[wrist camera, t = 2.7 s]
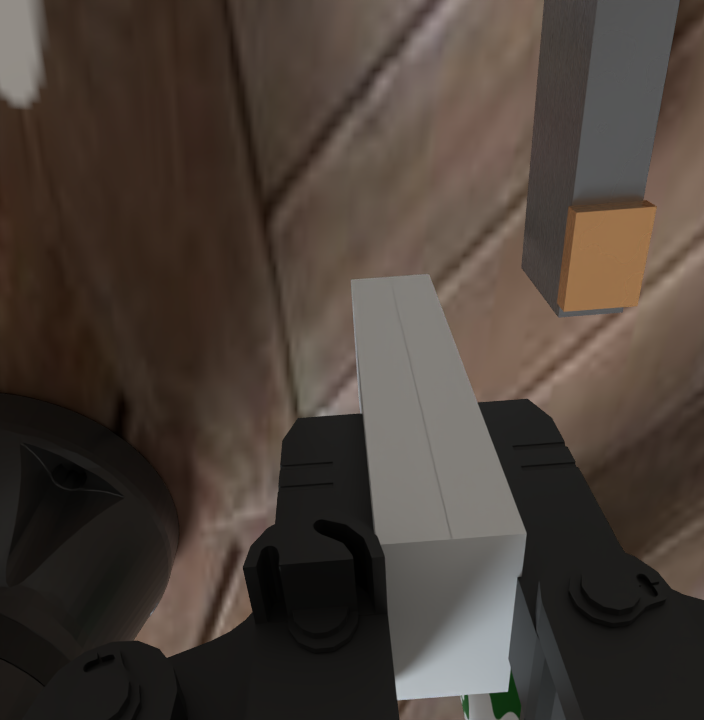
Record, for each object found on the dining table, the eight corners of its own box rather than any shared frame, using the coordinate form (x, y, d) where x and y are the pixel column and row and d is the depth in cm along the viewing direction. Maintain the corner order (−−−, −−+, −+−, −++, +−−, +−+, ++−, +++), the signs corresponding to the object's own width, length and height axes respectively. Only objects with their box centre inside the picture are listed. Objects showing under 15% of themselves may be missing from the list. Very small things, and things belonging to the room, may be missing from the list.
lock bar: (553, -416, 14) (647, -577, 10) (693, -425, 14) (842, -589, 10) (504, 268, 22) (545, 327, 19) (592, 262, 22) (650, 319, 19)
